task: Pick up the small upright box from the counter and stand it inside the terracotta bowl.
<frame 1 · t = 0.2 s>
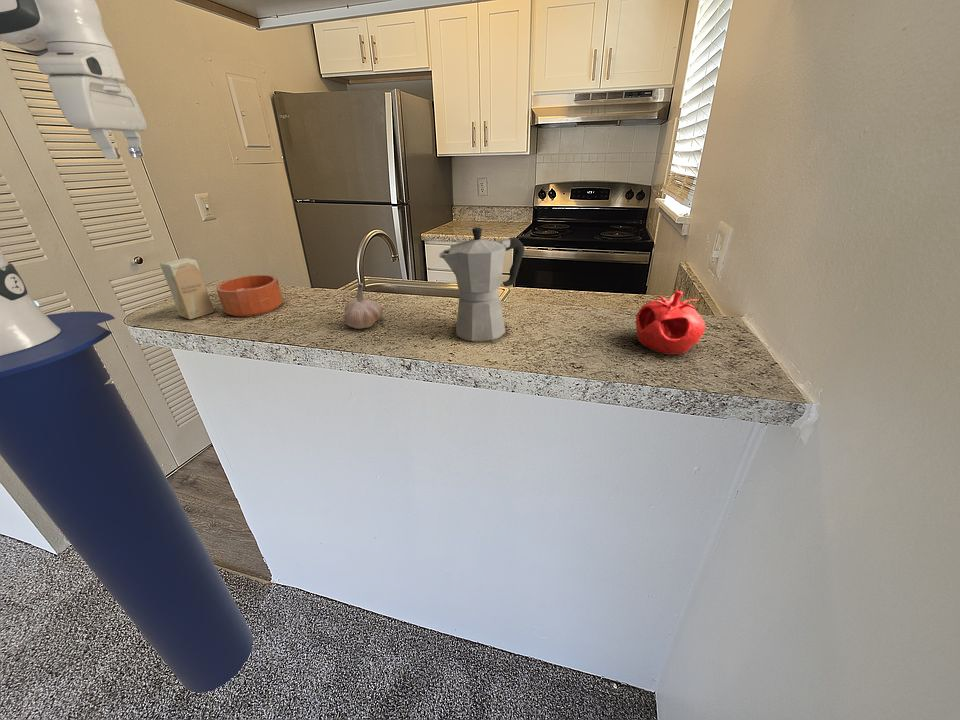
hand: (126, 158, 76), 29 cm above the countertop, tool pointing down, fingers open, 8 cm apart
bowl: (255, 307, 87), on the countertop
garlic bulb: (366, 324, 77), on the countertop
pomegranate: (664, 346, 65), on the countertop
box: (198, 314, 84), on the countertop
coffeepot: (485, 330, 73), on the countertop
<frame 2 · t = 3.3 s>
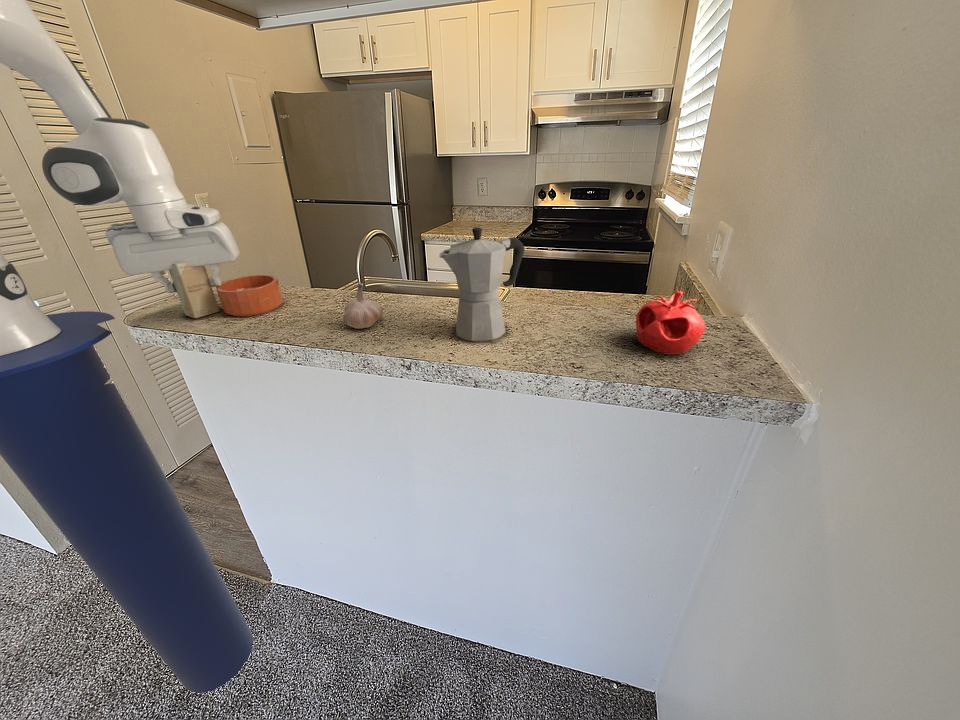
hand: (195, 288, 82), 5 cm above the countertop, tool pointing down, fingers open, 7 cm apart
box: (203, 313, 85), on the countertop, touching gripper
everything else where it was.
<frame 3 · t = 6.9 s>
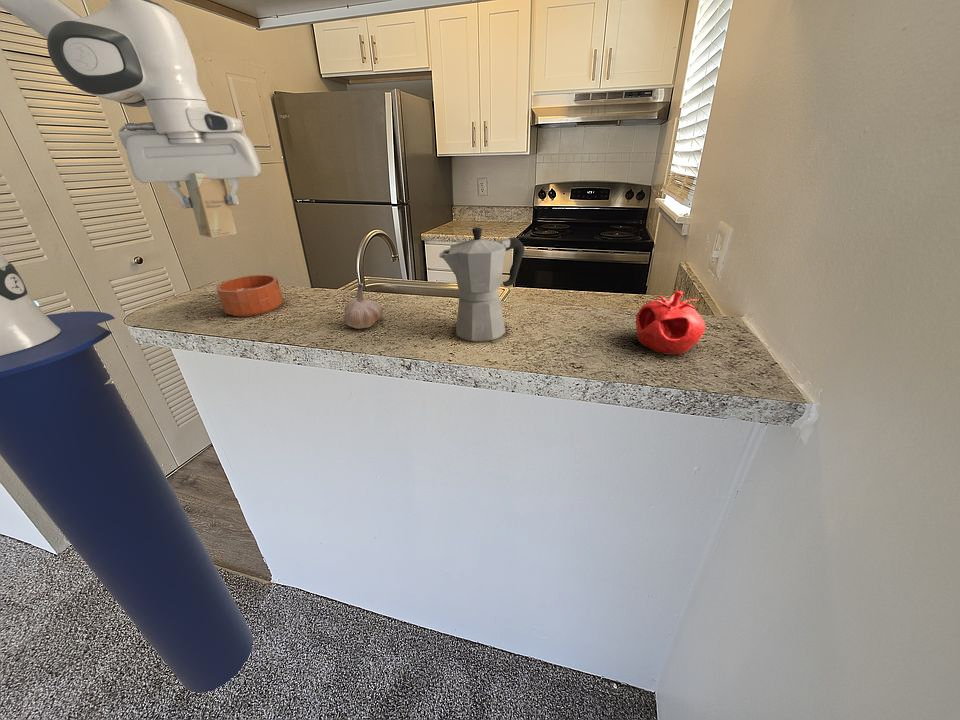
hand: (212, 206, 76), 21 cm above the countertop, tool pointing down, fingers closed on box, 6 cm apart
box: (219, 236, 79), point 15 cm above the countertop, touching gripper
everything else where it was.
when the fingers open (6 cm above the countertop, at t = 10.5 s): box stays where it is, resting on bowl.
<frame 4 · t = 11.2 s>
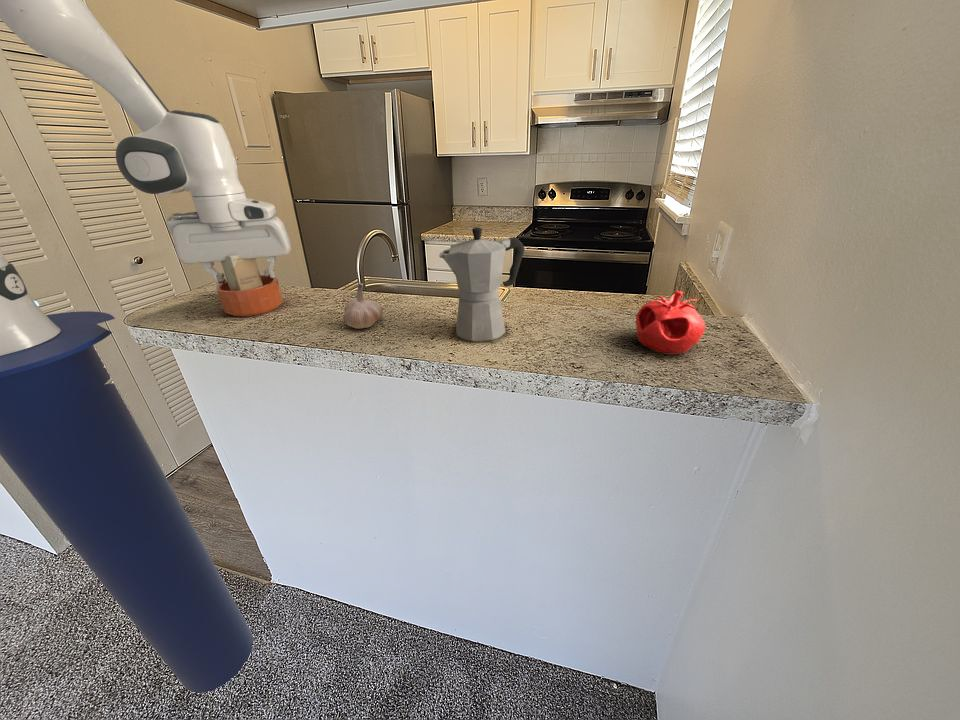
hand: (246, 280, 84), 6 cm above the countertop, tool pointing down, fingers open, 8 cm apart
box: (252, 305, 86), resting on bowl
everything else where it was.
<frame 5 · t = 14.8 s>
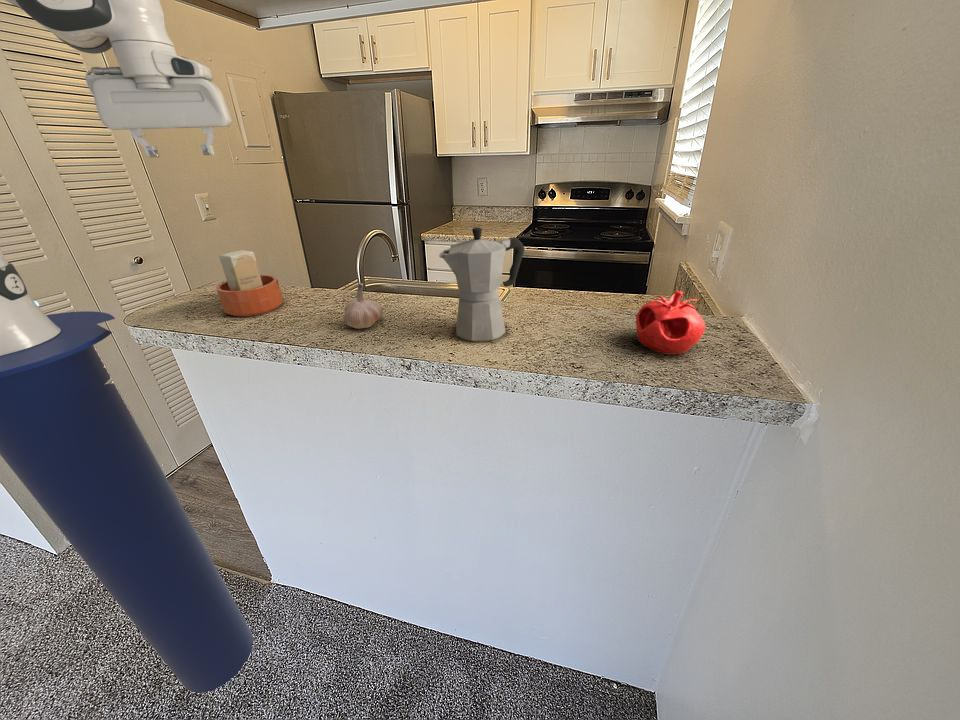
hand: (182, 156, 76), 29 cm above the countertop, tool pointing down, fingers open, 8 cm apart
nothing on the countertop moved.
at the end: box 0.4 cm off-centre in the bowl, point 0.4 cm above the bowl's base; box tilted 0°; the gripper is holding nothing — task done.
